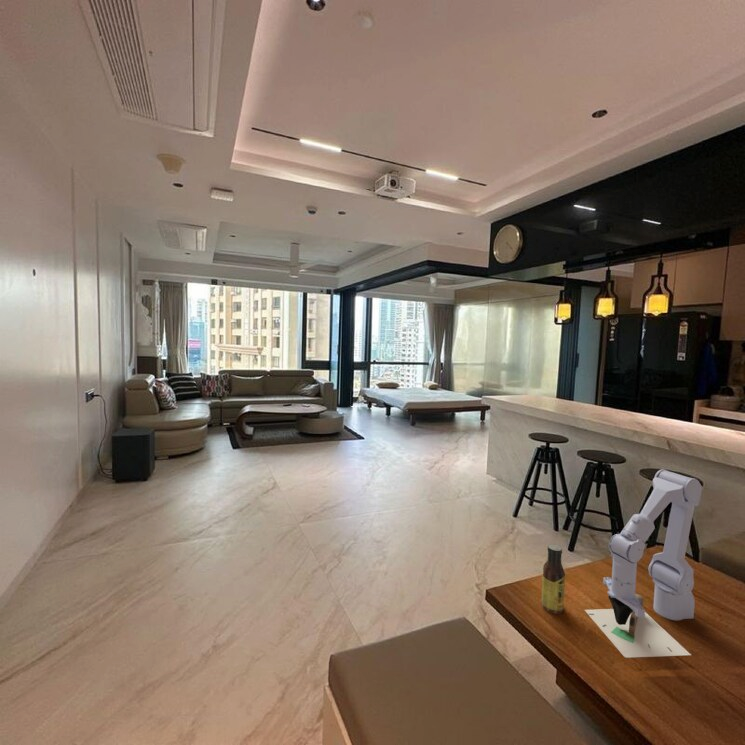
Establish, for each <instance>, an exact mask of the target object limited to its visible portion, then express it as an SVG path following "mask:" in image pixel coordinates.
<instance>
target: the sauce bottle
mask: <svg viewBox="0 0 745 745" xmlns="http://www.w3.org/2000/svg"><path fill="white" fill-rule="evenodd" d="M562 554H563V547H561V546H559V545H557V544H548V545H547V560H546V562H545V563H544V564H543V568H542V570H543V571H542V572H543V573H542V579H541V584H542V585H541V606H542V608H543V609H544V611H547V612H549V613H551V614H561V613H562V612H563V611H564V605H565V583H566V581H565V580H566V573H565V571H564V567H563V564H562Z"/></svg>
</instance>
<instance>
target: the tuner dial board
mask: <svg viewBox="0 0 745 745" xmlns="http://www.w3.org/2000/svg"><path fill="white" fill-rule="evenodd" d="M584 612H585V613H586V614H587V615H588V616H589V617H590V619H592V621H593V623H594V624H595V625H597V627H598V628H599V629H600V630H601V632H603V633H604V635H605V636H606V637H607V639H609V641H610V642H611V643H612V644H613V645H614V646H615V648H616V649H617V650H618V651H619V652H620V654H621V655H622V656H623V657H624V658H625V659H626V658H628V659H629V658H630V659H631V658H653V657H654V658H655V657H657V658H658V657H679V656H680V657H681V656H692V654H691V653H689V651H687V649H686V648H685V647H684V646H683V645H681V643H679V641H677V640H676V639H675V638H674V637H673V636H671V634H669V632H667V631H666V630H665V629H664V628H663V627H662V626H661V625H659V623H658V622H656V621H655V619H654V618H652V617H651V616H650V615H649V614H648V613H647V612H646V611H645V617H638V618H637V623H636V628H635V633H634V637H631V636H629V622H630V617H631V614H630V616H629V617H628V620H627V622H626V624H625V625H619V624H618V623H617V622H616V619H615V614H614V610H613V608H603V609H602V608H600V609H599V608H597V609H584Z"/></svg>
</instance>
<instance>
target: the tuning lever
mask: <svg viewBox="0 0 745 745" xmlns="http://www.w3.org/2000/svg"><path fill="white" fill-rule="evenodd" d="M635 596H636V597H637V599H638V601H639V603H640V605H641V606H642V608H643V607H644V598H643V596H642V595H640V594H638V593H635ZM643 609H644V608H643ZM637 618H638V617H637V616H636V615H635V612H634V611H633V612H632V613H631V617H630V622H629V636H631V637H634V633H635V628H636V623H637Z"/></svg>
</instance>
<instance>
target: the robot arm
mask: <svg viewBox="0 0 745 745" xmlns="http://www.w3.org/2000/svg"><path fill="white" fill-rule="evenodd" d="M652 487H653V489H652V491H651V494H650V495H649V497H648V498H647V500H646V502H645V504H644V506H643V508H642V509H641V511H640V512H639V513H634V514H632V516H631V517H630V519H629V520H628V522H627V523H626V525H625V526H624V527H623V528H622V530H621V532H620V533H616V534H615V533H614V535H612V536H611V537H610V540H609V543H608V550H609V551H610V557H611V558H612V568H611V577H609V576H607V577H603V578H602V580H603V581H602V584H603V585H604V586H607V589H608V590H607V595H608V597H607V598H608V599H609V602H610V603H611V607H612V609H613V610H614V614H615V619H616V622H617V623H618V624H619V625H625V624H626V622H627V620H628V617H629V616H630V614H631V613H632V612H633V611H634V612H635V615H636V616H637V617H645V612H646V609H644V608H642V606H641V605H640V603H639V601H638V599H637V597H636V596H635V594H636V585H637V570H638V569H637V568H638V562H639V561H640V560H641V559H642V558H643V555H644V549H645V548H646V544H645V543H646V542H647V540H648V539H649V537H650V536H651V535H652V533H653V532H654V530H655V529H656V528H655V524H654V522H655V520H656V519H657V518H658V517H659V515H661V514H662V512H663V511H664V510H665V509H666V508H667V507H668V505H669V504H670V503H671V508H670V514H669V518H668V525H667V529H666V535H665V540H664V545H663V550H662V552H658V553H655V554H653V555H652V559H651V561H650V563H649V565H648V569H647V570H648V574H649V576H650V578H652V582H653V583H654V594H653V605H652V606H653V610H654V612H655V613H656V614H658V615H659V616H661V617H663V618H665V619H668V620H671V621H682V620H687V619H691V620H692V619H694V616H695V615H694V614H695V605H696V604H695V602H696V601H695V596H694V594H693V592H692V590H693V588H694V585H695V581H694V569H693V567H692V566H691V565H690V563H688V561H687V560H686V559H685V557H686V556H685V555H686V552H687V547H688V541H689V536H690V531H691V525H692V522H693V516H694V510H695V507H699V504H700V501H701V496H702V490H703V485H701V483H700V481H699V480H698V479H696V478H694V477H689V476H685V475H682V474H679V473H676V472H672V471H668V470H667V469H664V468H662V469H661V468H660V469H659V470H658V471H657V472H656V473H655V475H654V478H653V479H652Z"/></svg>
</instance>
